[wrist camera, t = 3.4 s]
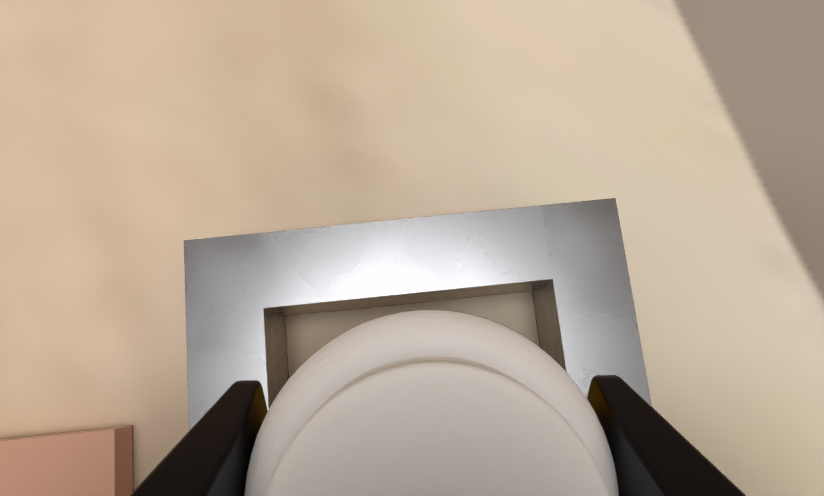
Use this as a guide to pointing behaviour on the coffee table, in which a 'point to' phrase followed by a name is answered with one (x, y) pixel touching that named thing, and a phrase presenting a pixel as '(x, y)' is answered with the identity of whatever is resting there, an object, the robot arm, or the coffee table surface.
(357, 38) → the coffee table surface
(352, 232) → the frame
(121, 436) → the tile
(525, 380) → the supplement bottle
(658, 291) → the coffee table surface
